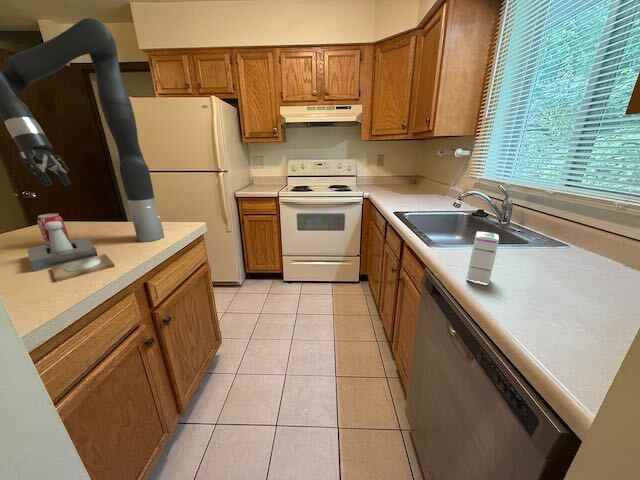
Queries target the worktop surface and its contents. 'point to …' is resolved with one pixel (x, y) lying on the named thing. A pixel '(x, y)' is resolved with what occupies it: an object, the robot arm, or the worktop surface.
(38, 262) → the collar block
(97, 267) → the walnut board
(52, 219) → the soda can
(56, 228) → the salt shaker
